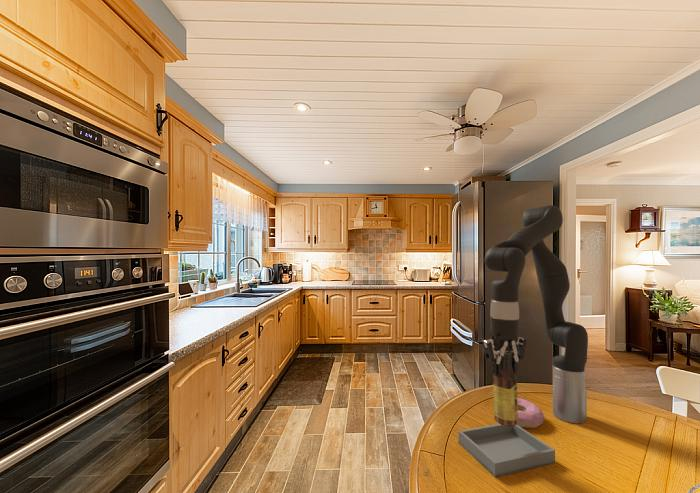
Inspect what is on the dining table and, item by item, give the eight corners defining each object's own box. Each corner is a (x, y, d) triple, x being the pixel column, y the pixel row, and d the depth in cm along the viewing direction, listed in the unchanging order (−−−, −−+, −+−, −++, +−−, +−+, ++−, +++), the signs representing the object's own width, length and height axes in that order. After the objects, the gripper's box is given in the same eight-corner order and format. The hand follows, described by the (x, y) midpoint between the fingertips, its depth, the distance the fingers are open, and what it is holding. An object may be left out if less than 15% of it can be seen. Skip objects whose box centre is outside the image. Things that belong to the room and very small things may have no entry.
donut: (484, 410, 113) (484, 396, 113) (519, 405, 117) (519, 392, 117) (517, 434, 98) (517, 418, 98) (555, 428, 102) (555, 413, 102)
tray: (512, 432, 99) (512, 421, 99) (555, 463, 84) (555, 450, 84) (458, 442, 93) (458, 430, 93) (494, 477, 79) (494, 463, 79)
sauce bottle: (521, 429, 85) (520, 357, 86) (496, 426, 87) (496, 355, 87) (513, 416, 92) (513, 349, 92) (491, 414, 93) (490, 348, 93)
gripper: (514, 312, 95) (514, 367, 95) (475, 314, 91) (474, 372, 91) (535, 317, 88) (535, 377, 88) (493, 320, 84) (493, 382, 84)
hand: (504, 374), depth 89 cm, fingers closed on sauce bottle, 5 cm apart
